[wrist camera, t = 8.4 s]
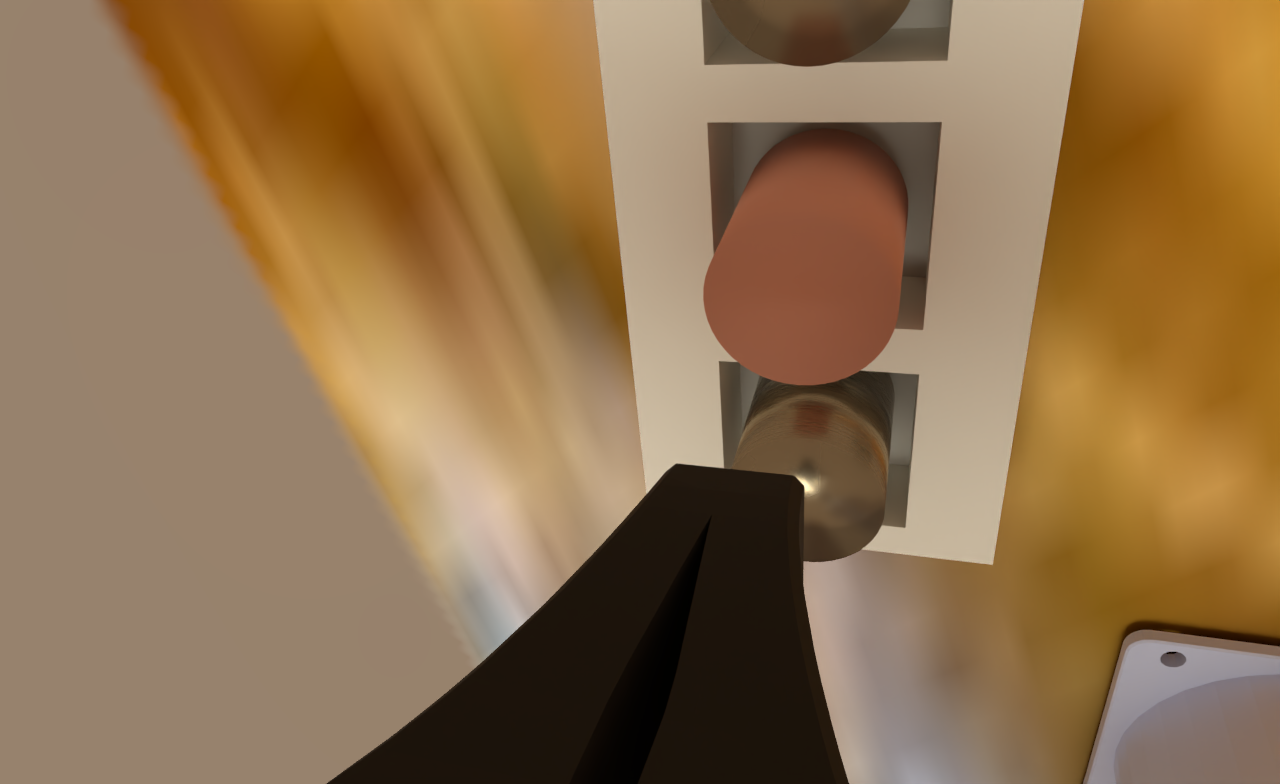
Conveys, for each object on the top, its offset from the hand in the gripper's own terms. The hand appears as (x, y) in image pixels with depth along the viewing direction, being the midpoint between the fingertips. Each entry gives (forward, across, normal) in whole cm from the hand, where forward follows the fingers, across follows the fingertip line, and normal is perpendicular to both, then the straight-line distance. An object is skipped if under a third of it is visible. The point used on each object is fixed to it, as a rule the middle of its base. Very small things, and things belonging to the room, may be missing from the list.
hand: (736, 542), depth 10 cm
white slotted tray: (+10, 0, 0) cm, 10 cm away
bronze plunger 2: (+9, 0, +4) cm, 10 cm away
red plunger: (+8, 0, 0) cm, 8 cm away
